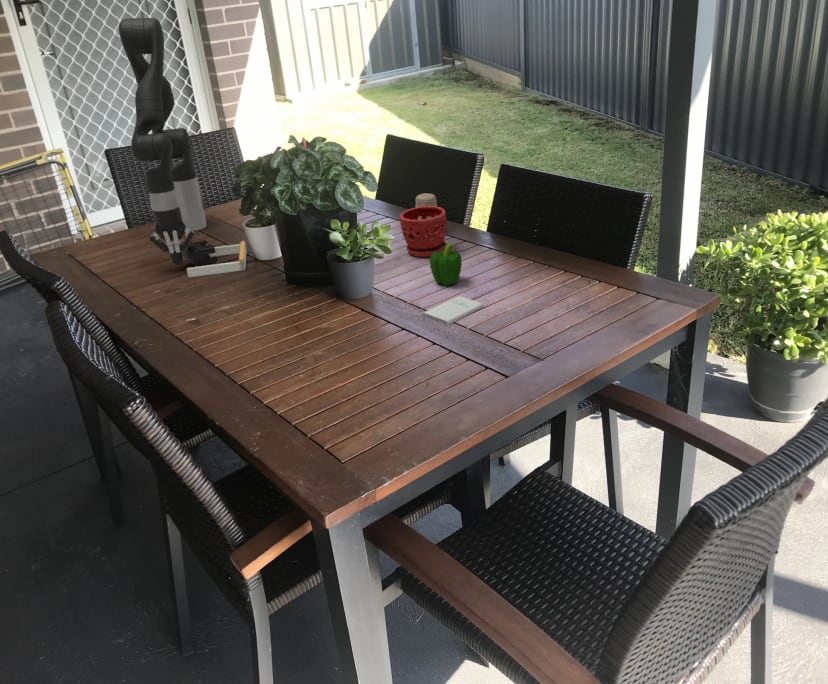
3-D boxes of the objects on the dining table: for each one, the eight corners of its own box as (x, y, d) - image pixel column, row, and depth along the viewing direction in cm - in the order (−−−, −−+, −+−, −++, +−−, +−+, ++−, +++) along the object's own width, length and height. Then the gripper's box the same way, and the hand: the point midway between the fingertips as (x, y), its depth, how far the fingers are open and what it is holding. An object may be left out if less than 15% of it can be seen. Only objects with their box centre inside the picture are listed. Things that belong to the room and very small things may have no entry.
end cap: (184, 264, 217) (179, 242, 214) (207, 258, 221) (203, 237, 218) (195, 273, 210) (190, 250, 207) (219, 266, 213) (214, 245, 210)
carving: (432, 237, 223) (429, 199, 218) (411, 234, 227) (408, 196, 221) (442, 231, 228) (440, 193, 222) (422, 228, 231) (420, 191, 226)
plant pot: (420, 242, 220) (417, 203, 214) (456, 248, 213) (454, 208, 207) (394, 255, 211) (390, 215, 205) (431, 262, 203) (428, 221, 198)
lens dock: (193, 257, 222) (191, 247, 220) (246, 251, 224) (244, 240, 222) (188, 277, 207) (186, 266, 205) (245, 270, 209) (243, 259, 207)
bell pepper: (440, 290, 185) (437, 253, 180) (426, 280, 192) (424, 244, 187) (469, 283, 188) (467, 247, 183) (454, 274, 194) (453, 238, 190)
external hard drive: (422, 318, 172) (458, 301, 180) (447, 327, 167) (483, 309, 174) (422, 312, 172) (458, 295, 179) (447, 321, 166) (483, 303, 173)
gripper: (190, 200, 209) (202, 257, 217) (143, 205, 208) (157, 262, 216) (188, 207, 203) (200, 265, 210) (139, 212, 201) (153, 271, 209)
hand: (178, 263), depth 213 cm, fingers closed
